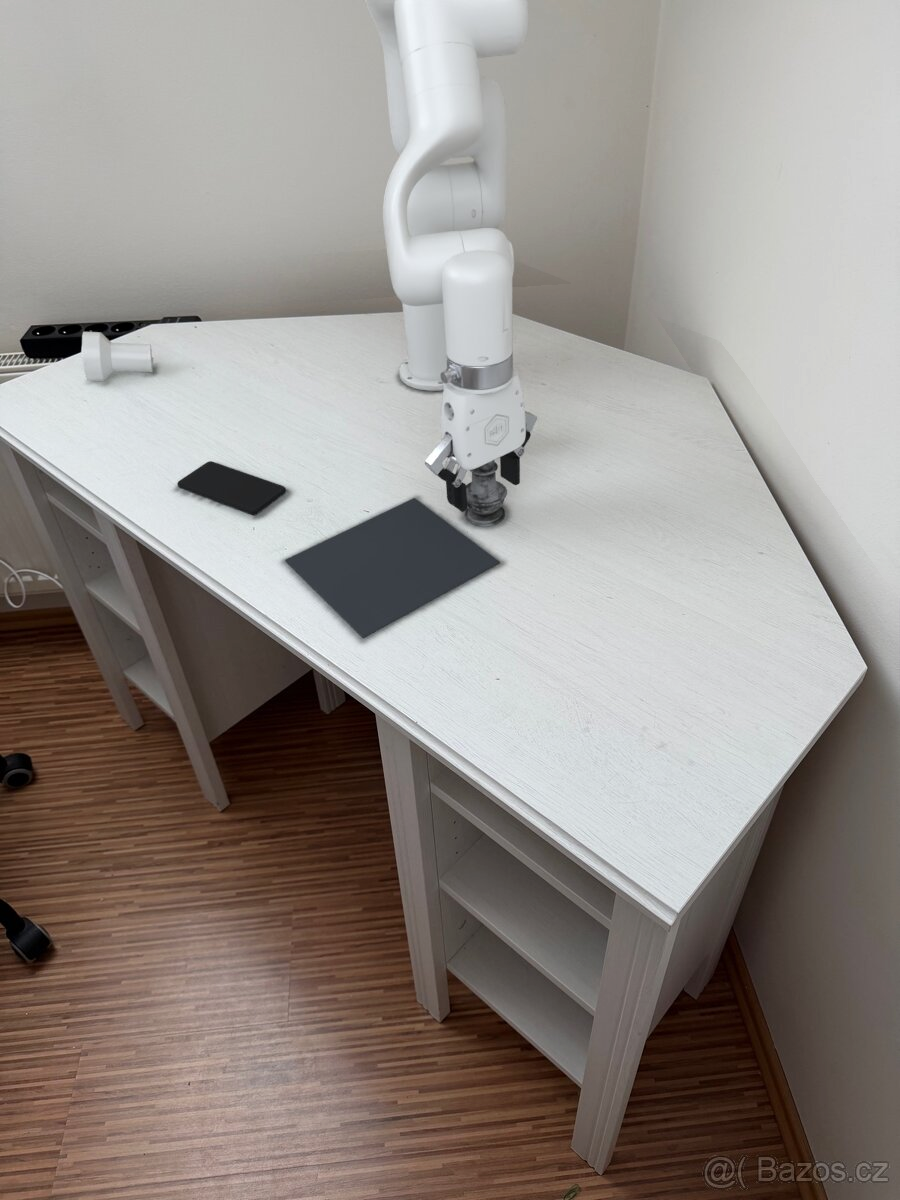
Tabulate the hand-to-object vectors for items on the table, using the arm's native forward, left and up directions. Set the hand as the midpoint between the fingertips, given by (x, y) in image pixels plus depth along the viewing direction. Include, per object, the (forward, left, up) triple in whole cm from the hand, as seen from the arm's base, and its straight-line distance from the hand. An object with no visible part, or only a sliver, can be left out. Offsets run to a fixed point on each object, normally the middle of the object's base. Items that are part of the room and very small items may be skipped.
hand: (484, 492), depth 107 cm
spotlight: (+22, -74, -4) cm, 77 cm away
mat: (+15, 0, -3) cm, 15 cm away
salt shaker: (0, 0, -4) cm, 4 cm away
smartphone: (+23, -28, -3) cm, 36 cm away
